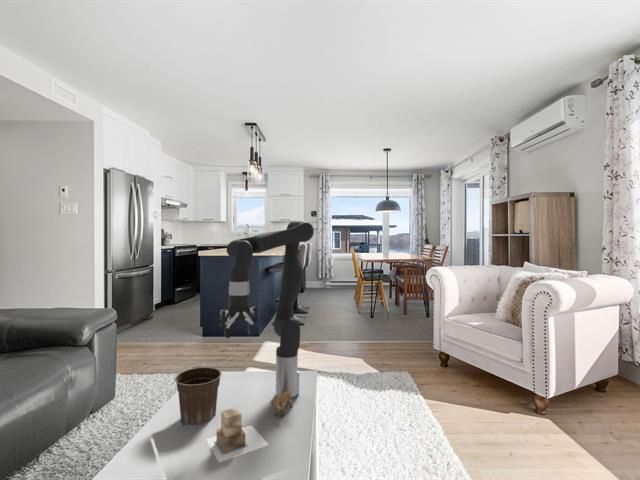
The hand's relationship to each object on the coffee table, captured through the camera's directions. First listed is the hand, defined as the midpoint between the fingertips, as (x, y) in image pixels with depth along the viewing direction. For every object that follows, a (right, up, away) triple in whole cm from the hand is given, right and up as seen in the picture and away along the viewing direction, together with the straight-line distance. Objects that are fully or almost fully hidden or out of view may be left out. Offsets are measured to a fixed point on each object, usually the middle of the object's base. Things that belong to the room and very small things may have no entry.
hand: (238, 336), depth 130 cm
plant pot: (-14, -30, -2) cm, 34 cm away
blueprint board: (+4, -30, -18) cm, 36 cm away
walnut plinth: (+2, -29, -20) cm, 35 cm away
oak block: (+2, -25, -19) cm, 32 cm away
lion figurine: (+17, -31, +3) cm, 35 cm away
